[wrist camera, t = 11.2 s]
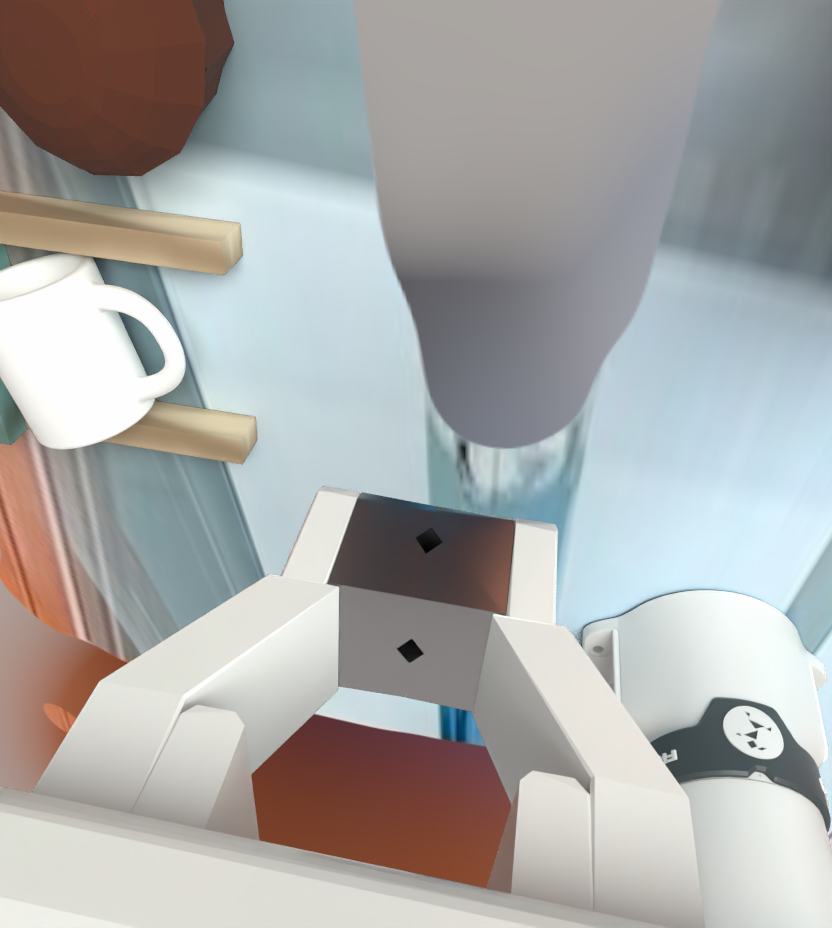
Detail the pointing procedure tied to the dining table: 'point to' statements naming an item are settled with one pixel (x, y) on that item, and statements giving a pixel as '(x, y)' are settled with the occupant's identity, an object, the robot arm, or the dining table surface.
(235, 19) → the dining table surface
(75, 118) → the muffin
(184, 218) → the guide channel
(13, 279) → the mug
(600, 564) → the dining table surface
